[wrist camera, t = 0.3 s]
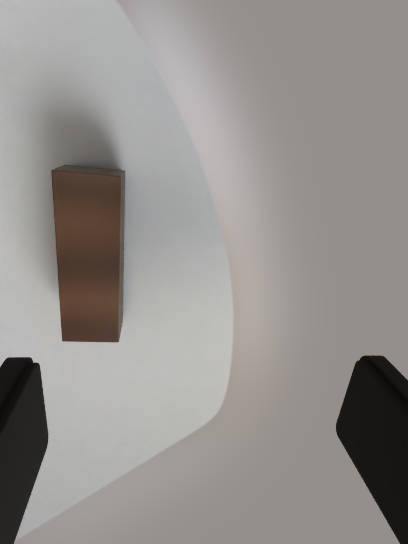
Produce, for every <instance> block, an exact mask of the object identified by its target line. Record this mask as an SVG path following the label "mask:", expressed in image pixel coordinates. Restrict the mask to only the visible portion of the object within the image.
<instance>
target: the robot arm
mask: <svg viewBox="0 0 408 544" xmlns="http://www.w3.org/2000/svg"><path fill="white" fill-rule="evenodd" d="M336 432H337V435H338V437H339V439H340V441H341V442H342V444H343V446H344V447H345V449H346V451H347V453H348V455H349V456H350V458H351V460H352V462H353V463H354V465H355V467H356V468H357V470H358V472H359V474H360V475H361V477H362V478H363V480H364V482H365V484H366V486H367V487H368V489H369V491H370V493H371V494H372V496H373V498H374V499H375V501H376V503H377V504H378V506H379V508H380V510H381V511H382V513H383V515H384V517H385V518H386V520H387V522H388V524H389V525H390V527H391V529H392V530H393V532H394V534H395V536H396V537H397V539H398V541H399V542H400V544H408V380H407V379H406V378H405V377H404V376H403V375H402V374H401V373H400V372H399V371H398V370H397V369H396V368H395V367H394V366H393V365H392V364H391V363H390V362H389V361H388V360H387V359H386V358H385V357H383V356H363V357H361V358H360V360H359V361H357V362H356V364H355V366H354V370H353V373H352V376H351V379H350V382H349V385H348V388H347V391H346V395H345V398H344V401H343V404H342V407H341V410H340V414H339V417H338V420H337V423H336ZM47 444H48V429H47V420H46V412H45V404H44V396H43V388H42V379H41V371H40V365H39V363H33V360H32V358H30V357H16V358H7V359H6V360H5V361H4V362H3V364H2V365H1V367H0V544H14V541H15V538H16V535H17V532H18V530H19V527H20V524H21V521H22V518H23V515H24V512H25V509H26V507H27V504H28V501H29V498H30V495H31V492H32V489H33V486H34V483H35V481H36V478H37V475H38V472H39V469H40V466H41V463H42V460H43V458H44V455H45V452H46V449H47Z"/></svg>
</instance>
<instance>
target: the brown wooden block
mask: <svg viewBox="0 0 408 544" xmlns="http://www.w3.org/2000/svg"><path fill="white" fill-rule="evenodd" d="M52 186H53V202H54V218H55V234H56V249H57V265H58V281H59V297H60V313H61V329H62V341H74V342H119V338H120V333H121V327H122V322H123V272H124V214H125V171H123V170H113V169H102V168H92V167H81V166H70V165H63V166H61V167H59V168H56V169H54V170H52Z"/></svg>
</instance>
